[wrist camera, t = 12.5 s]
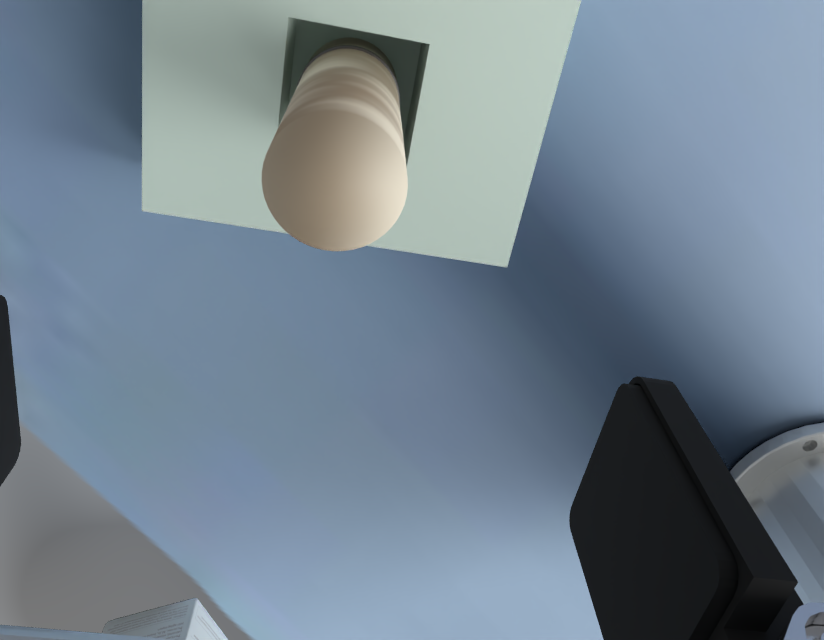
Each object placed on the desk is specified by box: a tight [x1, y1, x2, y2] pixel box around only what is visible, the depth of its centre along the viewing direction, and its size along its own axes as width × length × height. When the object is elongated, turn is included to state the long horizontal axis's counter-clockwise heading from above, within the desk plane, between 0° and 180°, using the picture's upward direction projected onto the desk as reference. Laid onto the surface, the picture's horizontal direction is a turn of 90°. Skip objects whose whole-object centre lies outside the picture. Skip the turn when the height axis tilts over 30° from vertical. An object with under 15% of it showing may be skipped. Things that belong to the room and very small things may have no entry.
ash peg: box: [262, 38, 408, 251], centre depth 26 cm, size 4×4×14 cm
